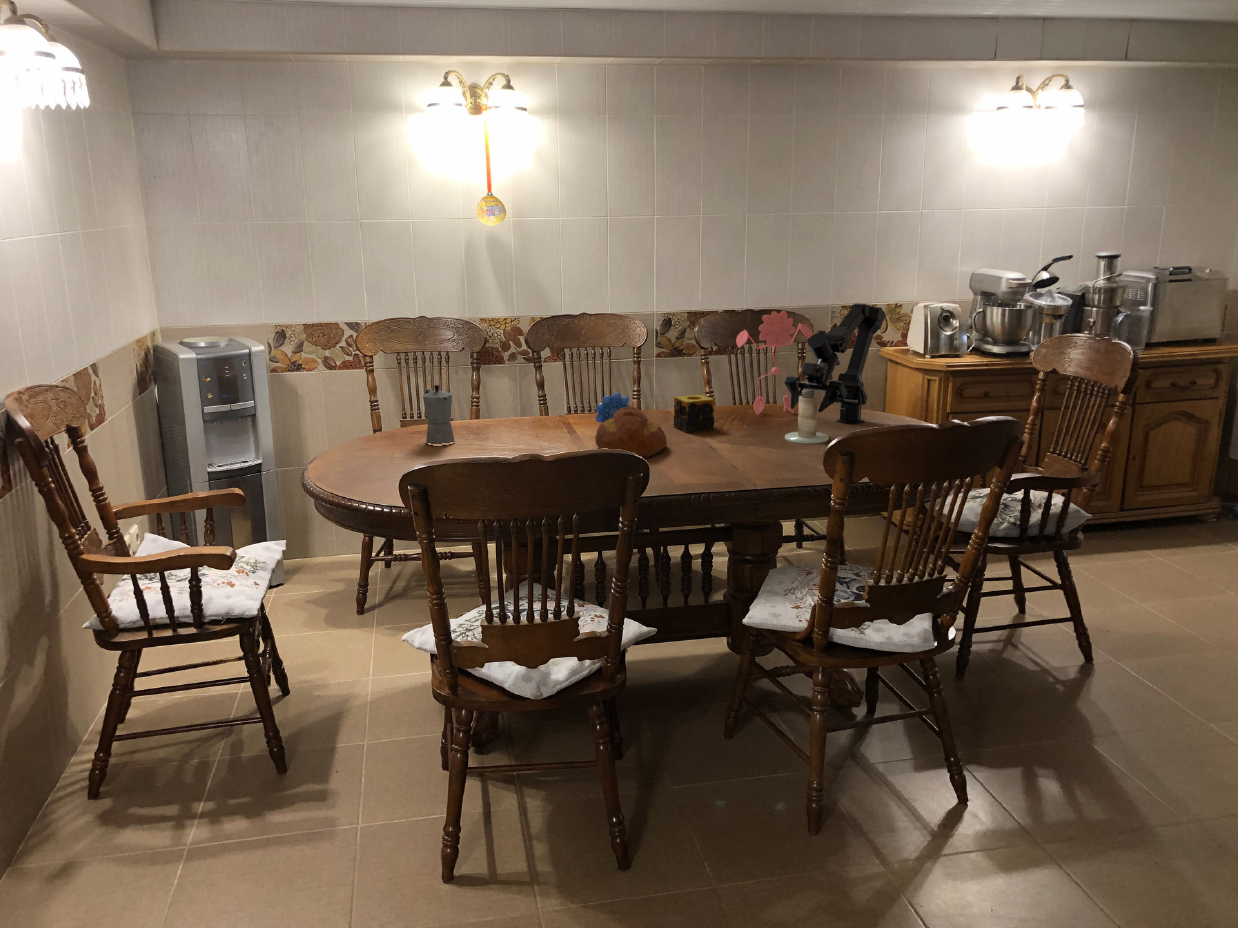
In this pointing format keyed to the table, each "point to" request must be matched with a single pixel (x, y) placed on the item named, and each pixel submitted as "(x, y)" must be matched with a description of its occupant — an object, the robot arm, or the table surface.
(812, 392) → the pepper mill
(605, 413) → the grapes
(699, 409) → the black and yellow cube
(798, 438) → the pale green coaster
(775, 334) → the figurine
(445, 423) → the coffeepot
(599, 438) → the bread
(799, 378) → the robot arm
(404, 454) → the table surface
